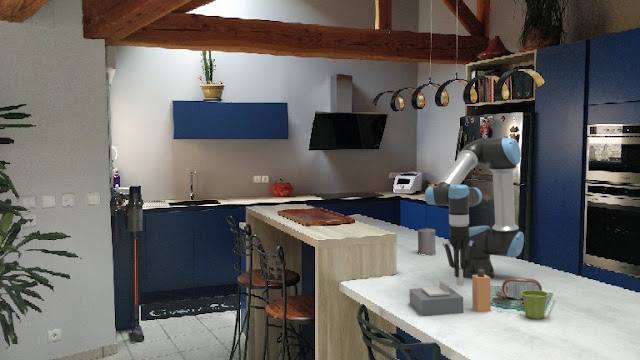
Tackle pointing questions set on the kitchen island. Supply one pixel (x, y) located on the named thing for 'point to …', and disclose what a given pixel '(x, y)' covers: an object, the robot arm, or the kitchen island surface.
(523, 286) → the tin
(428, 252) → the pillar candle
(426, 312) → the socket
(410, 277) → the kitchen island surface
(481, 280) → the orange square bottle
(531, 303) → the plant pot
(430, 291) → the shutter
